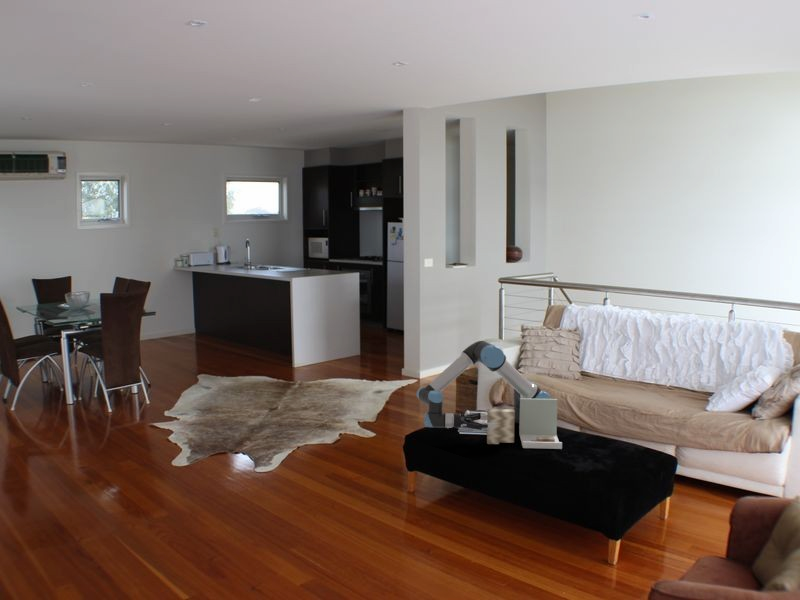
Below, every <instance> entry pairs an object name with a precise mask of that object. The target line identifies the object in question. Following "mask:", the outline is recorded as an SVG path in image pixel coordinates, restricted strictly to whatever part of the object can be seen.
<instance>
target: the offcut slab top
mask: <svg viewBox="0 0 800 600" xmlns="http://www.w3.org/2000/svg"><path fill="white" fill-rule="evenodd" d="M536 441H537V442H555V439H554V437H537V440H536Z"/></svg>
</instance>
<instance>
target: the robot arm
mask: <svg viewBox="0 0 800 600" xmlns="http://www.w3.org/2000/svg"><path fill="white" fill-rule="evenodd" d="M477 363H481V364H482V365H483V366H485V367H486V368H487V369H488V370H489V371H490V372H493V373H494V372H495V373H497V374H498V376H500V377H501V378H502V379H503V380H504V381H505V382H506V383H507V384H508V385H510V387H512V388H513V408H512V409H513V410H514V411H515V417H514V424H519V425H520V398H531V399H551V396H550V394H549V393H548V392H547V391H544V390H543V389H542V388H541V387H539V386H538V385H537V384H536V383H535V382H534V381H530V380H529V379H527V378H526V377H525V376H523V375H524V374H521V373H520V372H519V371H518V370H517V368H515V367H514V366H513V365H512V364H511V363H510V362H509V361H508V360H507V356H506V354H504V351H503V350H502V349H501V348H500V347H499V346H497V345H495V344H492V343H489V342H487V341H485V340H478V341H475V342H473V343H471V344H470V345H468V346H467V347H466V348H465V349H464V350H462V351H461V353H460V356H459V357H458V358H456V359H455V360H454V361H453V362H451V364H450V365H448V366H447V367H446V368H445V369H444V370H443V371H442V372H441V373H440V374H439V375H437V376H436V377H435V378H434V379H433V380H431V382H429V383H428V385H426V386H422V387H419V388H418V389H417V391H416V397H417V399H418V400H419V401H420V402H422V403H423V404H425V405H426V406H427V407H428V410H427V411H428V412H425V413H424V426H425V427H426V428H447V429H449V428H453V427H454V428H455V429H460V428H461V427H462V428H468V429H474V430H479V431H481V430H482V429H487V428H494V423H487V422H478V421H477V420H481V421H487V414H481V412H477V413H476V412H475V413H469V414H461V413H452V412H451V413H450V412H449V413H448V412H446V413H445V412H444V413H443V401H444V397H443V392H442V391H443V390H444V389H446V388H447V387H448V386H449V385H451V383H452V382H453V381H454V380H456V379H457V378H458V377H459V376H460V375H461V374H462V373H463V372H465V371H466V370H468V368H470V366H474V365H475V364H477Z"/></svg>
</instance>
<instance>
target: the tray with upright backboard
mask: <svg viewBox="0 0 800 600" xmlns="http://www.w3.org/2000/svg"><path fill="white" fill-rule="evenodd" d="M558 401H559V400H558V398H550V399H531V398H520V424H519V426H518V427H519V428H518V429H519V431H518V432H519V437H520V441H521V446H522V448H523V449H546V450H547V449H549V450H551V449H553V450H554V449H555V450H562V449H563V442H562V441H559V438H558V434H557V430H558V429H557V428H558V405H559V404H558ZM537 437H554V439H555V442H536V440H537ZM532 440H535V441H532Z"/></svg>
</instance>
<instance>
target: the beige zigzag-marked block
mask: <svg viewBox="0 0 800 600" xmlns="http://www.w3.org/2000/svg"><path fill="white" fill-rule="evenodd" d="M486 415H487V420H486V421H487V422H486V423H494V428H486V429H487V430H486V443H487V444H488V445H500V443H509V444H510V443H515V422H514V417H515V411H514V410H513V408H511V409H506V408H505V409H504V408H502V409H501V408H499V409H498V408H487V414H486Z"/></svg>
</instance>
